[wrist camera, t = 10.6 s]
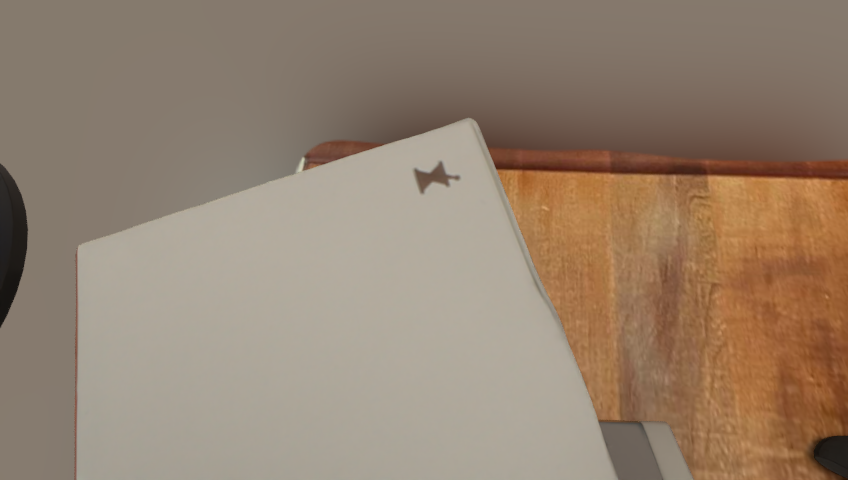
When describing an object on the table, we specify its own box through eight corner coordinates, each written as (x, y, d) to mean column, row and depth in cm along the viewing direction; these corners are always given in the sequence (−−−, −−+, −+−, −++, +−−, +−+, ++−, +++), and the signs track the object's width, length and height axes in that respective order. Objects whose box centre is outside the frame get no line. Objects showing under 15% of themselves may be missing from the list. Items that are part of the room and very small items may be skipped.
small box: (336, 361, 19) (63, 232, 7) (495, 313, 19) (481, 99, 7) (385, 607, 16) (41, 1101, 4) (576, 553, 16) (800, 901, 4)
